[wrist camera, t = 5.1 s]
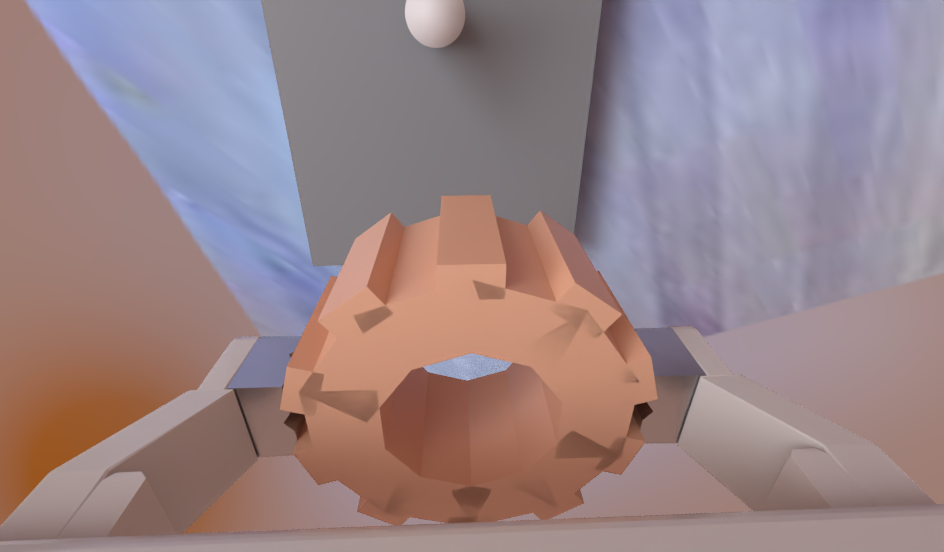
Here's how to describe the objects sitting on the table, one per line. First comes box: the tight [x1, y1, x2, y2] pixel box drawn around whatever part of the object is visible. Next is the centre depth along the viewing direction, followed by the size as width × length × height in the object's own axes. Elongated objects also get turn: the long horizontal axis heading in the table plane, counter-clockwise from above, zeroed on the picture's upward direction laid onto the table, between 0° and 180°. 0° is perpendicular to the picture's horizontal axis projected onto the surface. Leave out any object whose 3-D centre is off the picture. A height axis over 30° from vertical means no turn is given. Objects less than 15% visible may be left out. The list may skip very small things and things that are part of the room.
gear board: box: [261, 0, 602, 266], centre depth 16 cm, size 13×22×6 cm, turn 0°
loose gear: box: [280, 195, 658, 525], centre depth 9 cm, size 7×7×3 cm
